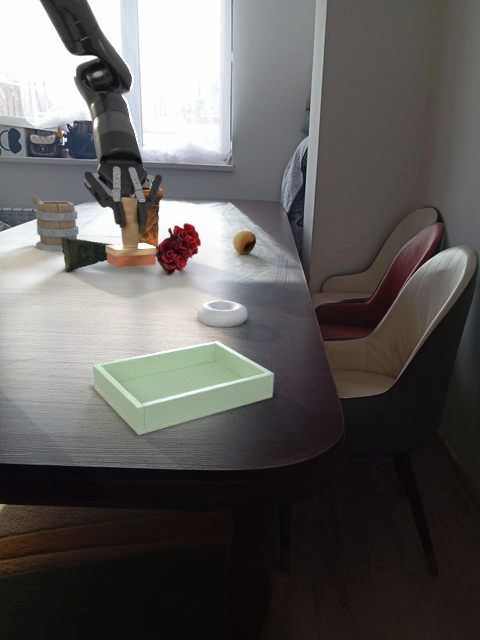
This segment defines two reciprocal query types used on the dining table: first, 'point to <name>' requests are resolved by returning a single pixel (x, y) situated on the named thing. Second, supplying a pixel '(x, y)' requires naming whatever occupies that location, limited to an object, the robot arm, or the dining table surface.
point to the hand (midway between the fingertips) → (132, 224)
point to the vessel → (149, 221)
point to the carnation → (169, 254)
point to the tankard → (54, 223)
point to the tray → (180, 385)
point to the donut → (222, 313)
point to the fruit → (244, 241)
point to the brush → (130, 241)
